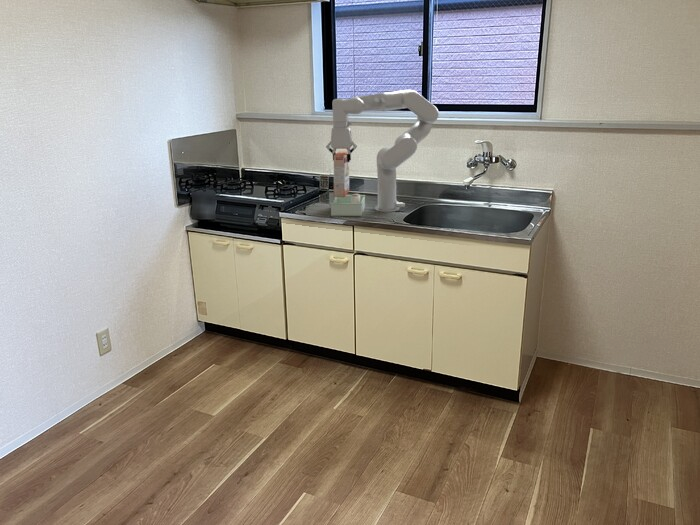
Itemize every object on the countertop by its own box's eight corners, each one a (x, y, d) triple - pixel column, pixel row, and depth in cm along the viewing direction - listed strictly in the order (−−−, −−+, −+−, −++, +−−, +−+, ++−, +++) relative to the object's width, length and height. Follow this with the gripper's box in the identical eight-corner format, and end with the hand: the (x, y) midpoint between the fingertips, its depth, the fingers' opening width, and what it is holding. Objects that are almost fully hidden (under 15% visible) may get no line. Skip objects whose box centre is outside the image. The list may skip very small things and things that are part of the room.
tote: (365, 207, 299) (365, 195, 297) (362, 216, 282) (361, 203, 279) (335, 207, 301) (335, 195, 299) (330, 216, 284) (330, 203, 281)
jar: (360, 209, 292) (360, 193, 290) (360, 212, 288) (359, 195, 285) (352, 209, 293) (352, 193, 290) (351, 211, 289) (351, 195, 286)
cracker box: (345, 197, 282) (345, 155, 274) (333, 197, 283) (332, 155, 275) (350, 191, 295) (350, 151, 287) (338, 191, 296) (338, 150, 288)
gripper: (359, 123, 279) (359, 160, 285) (324, 124, 281) (325, 160, 287) (357, 125, 272) (358, 163, 278) (322, 126, 274) (323, 163, 280)
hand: (341, 161), depth 283 cm, fingers closed on cracker box, 6 cm apart
